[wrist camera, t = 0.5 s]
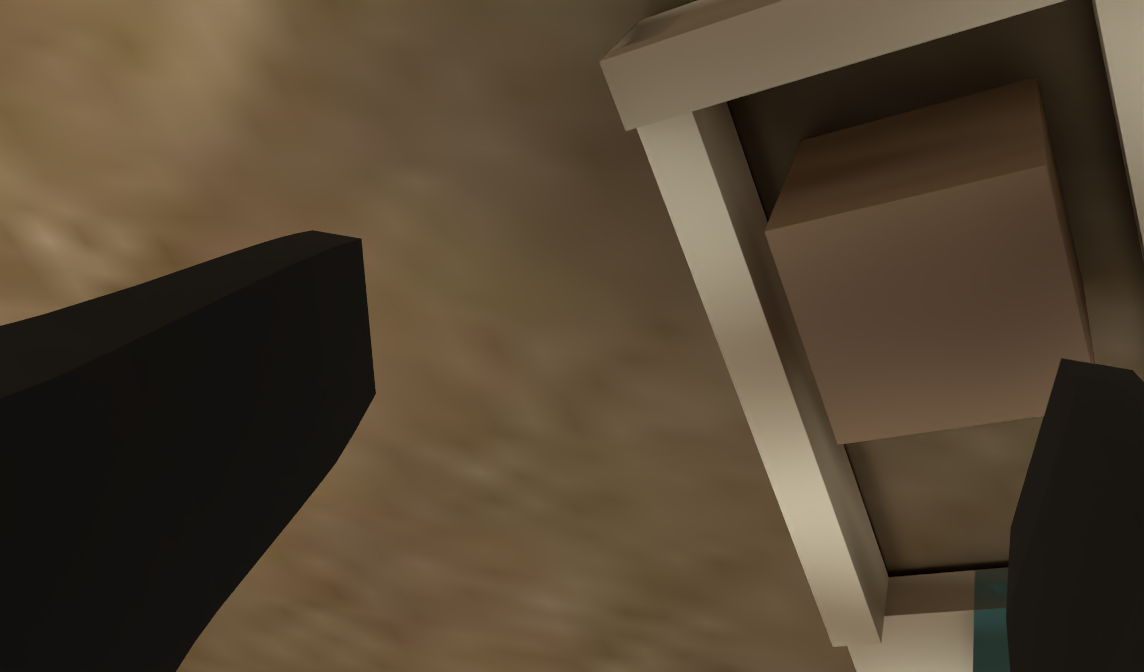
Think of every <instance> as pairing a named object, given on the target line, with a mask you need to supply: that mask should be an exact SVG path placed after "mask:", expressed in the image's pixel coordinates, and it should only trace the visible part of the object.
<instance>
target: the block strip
mask: <svg viewBox="0 0 1144 672" xmlns="http://www.w3.org/2000/svg"><path fill="white" fill-rule="evenodd" d="M1062 1H1065V0H697V1H694V2H691V3H688V4H686V5H683V6H680V7H677V8H674V9H671V10H668V11H665V12H662V13H660V14H657V15H654V16H651V17H648V18H645V19H642V20H640V21H639V22H638V23H637V24H636V25H635V26H634V27H633V28H632V29H631V30H630V31H629V32H628V33H627V34H626V35H625V36H624V37H623V38H622V39H621V40H620V41H619V42H618V43H617V44H616V45H615V46H614V47H613V48H612V49H611V50H610V51H609V52H608V53H607V54H606V55H605V56H604V57H603V58H602V59H601V60H600V61H599V63H600V66H601V68H602V71H603V73H604V76H605V79H606V81H607V84H608V86H609V89H610V92H611V94H612V97H613V99H614V102H615V105H616V107H617V110H618V112H619V115H620V118H621V120H622V123H623V126H624V128H625V131H628V130H632V129H635V128H637V131H638V133H639V136H640V139H641V141H642V144H643V146H644V149H645V152H646V154H647V157H648V160H649V162H650V165H651V168H652V170H653V173H654V175H655V178H656V181H657V183H658V186H659V189H660V191H661V194H662V197H663V199H664V202H665V205H666V207H667V210H668V212H669V215H670V218H671V220H672V223H673V226H674V228H675V231H676V234H677V236H678V239H679V242H680V244H681V247H682V249H683V252H684V255H685V257H686V260H687V263H688V265H689V268H690V271H691V273H692V276H693V278H694V281H695V284H696V286H697V289H698V292H699V294H700V297H701V300H702V302H703V305H704V308H705V310H706V313H707V315H708V318H709V321H710V323H711V326H712V329H713V331H714V334H715V337H716V339H717V342H718V345H719V347H720V350H721V352H722V355H723V358H724V360H725V363H726V366H727V368H728V371H729V374H730V376H731V379H732V382H733V384H734V387H735V389H736V392H737V395H738V397H739V400H740V403H741V405H742V408H743V411H744V413H745V416H746V418H747V421H748V424H749V426H750V429H751V432H752V434H753V437H754V440H755V442H756V445H757V448H758V450H759V453H760V455H761V458H762V461H763V463H764V466H765V469H766V471H767V474H768V477H769V479H770V482H771V485H772V487H773V490H774V492H775V495H776V498H777V500H778V503H779V506H780V508H781V511H782V514H783V516H784V519H785V521H786V524H787V527H788V529H789V532H790V535H791V537H792V540H793V543H794V545H795V548H796V551H797V553H798V556H799V558H800V561H801V564H802V566H803V569H804V572H805V574H806V577H807V580H808V582H809V585H810V588H811V590H812V593H813V595H814V598H815V601H816V603H817V606H818V609H819V611H820V614H821V617H822V619H823V622H824V625H825V627H826V630H827V632H828V635H829V638H830V640H831V643H832V646H833V647H837V646H847V647H848V650H849V652H850V655H851V658H852V660H853V663H854V666H855V668H856V671H857V672H1010V663H1009V651H1008V639H1007V625H1006V605H1007V584H1008V567H1007V568H995V569H983V570H971V571H959V572H947V573H935V574H923V575H911V576H899V577H888V574H887V571H886V568H885V565H884V562H883V559H882V556H881V553H880V550H879V547H878V544H877V542H876V539H875V536H874V533H873V530H872V527H871V524H870V521H869V518H868V515H867V512H866V509H865V506H864V503H863V501H862V498H861V495H860V492H859V489H858V486H857V483H856V480H855V477H854V474H853V471H852V468H851V465H850V462H849V460H848V457H847V454H846V451H845V448H844V445H843V444H840V445H838V444H837V441H836V438H835V435H834V433H833V430H832V427H831V424H830V421H829V418H828V415H827V412H826V409H825V406H824V403H823V401H822V398H821V395H820V392H819V389H818V386H817V383H816V380H815V377H814V374H813V371H812V369H811V366H810V363H809V360H808V357H807V354H806V351H805V348H804V345H803V342H802V340H801V337H800V334H799V331H798V328H797V325H796V322H795V319H794V316H793V313H792V310H791V308H790V305H789V302H788V299H787V296H786V293H785V290H784V287H783V284H782V281H781V279H780V276H779V273H778V270H777V267H776V264H775V261H774V258H773V255H772V252H771V249H770V247H769V244H768V241H767V238H766V235H765V232H764V231H765V229H766V226H767V224H768V222H767V219H766V217H765V214H764V211H763V208H762V205H761V202H760V199H759V196H758V193H757V190H756V187H755V184H754V181H753V178H752V176H751V173H750V170H749V167H748V164H747V161H746V158H745V155H744V152H743V149H742V146H741V143H740V140H739V137H738V135H737V132H736V129H735V126H734V123H733V120H732V117H731V114H730V111H729V108H728V105H727V102H726V101H729V100H733V99H736V98H739V97H743V96H746V95H749V94H753V93H756V92H759V91H763V90H766V89H769V88H773V87H776V86H780V85H783V84H786V83H790V82H793V81H796V80H800V79H803V78H806V77H810V76H813V75H817V74H820V73H823V72H827V71H830V70H833V69H837V68H840V67H843V66H847V65H850V64H854V63H857V62H860V61H864V60H867V59H870V58H874V57H877V56H880V55H884V54H887V53H890V52H894V51H897V50H901V49H904V48H907V47H911V46H914V45H917V44H921V43H924V42H927V41H931V40H934V39H938V38H941V37H944V36H948V35H951V34H954V33H958V32H961V31H964V30H968V29H971V28H975V27H978V26H981V25H985V24H988V23H991V22H995V21H998V20H1001V19H1005V18H1008V17H1012V16H1015V15H1018V14H1022V13H1025V12H1028V11H1032V10H1035V9H1038V8H1042V7H1045V6H1048V5H1052V4H1055V3H1059V2H1062ZM1092 5H1093V10H1094V15H1095V20H1096V25H1097V30H1098V35H1099V40H1100V45H1101V50H1102V55H1103V61H1104V66H1105V71H1106V76H1107V81H1108V86H1109V91H1110V96H1111V101H1112V106H1113V111H1114V116H1115V121H1116V126H1117V131H1118V136H1119V141H1120V146H1121V151H1122V156H1123V161H1124V166H1125V171H1126V177H1127V182H1128V187H1129V192H1130V197H1131V202H1132V207H1133V212H1134V217H1135V222H1136V227H1137V232H1138V237H1139V242H1140V247H1141V252H1142V257H1143V262H1144V0H1092Z"/></svg>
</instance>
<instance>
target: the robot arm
mask: <svg viewBox="0 0 1144 672" xmlns="http://www.w3.org/2000/svg"><path fill="white" fill-rule="evenodd" d="M375 394H376V391H375V380H374V370H373V359H372V348H371V337H370V327H369V316H368V305H367V294H366V284H365V273H364V262H363V251H362V241H361V239H360V238H354V237H348V236H342V235H336V234H331V233H325V232H319V231H313V230H312V231H307V232H302V233H297V234H292V235H288V236H284V237H281V238H277V239H274V240H270V241H267V242H264V243H260V244H257V245H254V246H251V247H248V248H245V249H242V250H239V251H236V252H233V253H230V254H227V255H224V256H221V257H218V258H215V259H212V260H209V261H206V262H204V263H201V264H198V265H195V266H192V267H189V268H186V269H183V270H180V271H177V272H175V273H172V274H169V275H166V276H163V277H160V278H157V279H154V280H151V281H148V282H145V283H142V284H139V285H137V286H133V287H130V288H127V289H124V290H121V291H117V292H114V293H111V294H108V295H104V296H101V297H98V298H95V299H92V300H88V301H85V302H82V303H79V304H76V305H72V306H69V307H66V308H63V309H60V310H56V311H53V312H50V313H47V314H43V315H40V316H36V317H32V318H29V319H25V320H21V321H18V322H14V323H10V324H6V325H2V326H0V672H176V670H177V669H178V667H179V666H180V664H181V663H182V661H183V659H184V658H185V656H186V655H187V653H188V652H189V650H190V649H191V647H192V645H193V644H194V642H195V641H196V640H197V638H198V637H199V635H200V634H201V633H202V631H203V630H204V629H205V627H206V626H207V625H208V623H209V622H210V621H211V619H212V618H213V616H214V615H215V614H216V612H217V611H218V610H219V608H220V607H221V606H222V605H223V603H224V602H225V601H226V600H227V598H228V597H229V596H230V595H231V593H232V592H233V591H234V590H235V589H236V587H237V586H238V585H239V584H240V582H241V581H242V580H243V579H244V577H245V576H246V575H247V574H248V572H249V571H250V570H251V569H252V568H253V566H254V565H255V564H256V563H257V561H258V560H259V559H260V558H261V556H262V555H263V554H264V553H265V551H266V550H267V549H268V548H269V547H270V545H271V544H272V543H273V542H274V540H275V539H276V538H277V537H278V535H279V534H280V533H281V532H282V531H283V529H284V528H285V527H286V526H287V524H288V523H289V522H290V521H291V519H292V518H293V517H294V516H295V515H296V513H297V512H298V511H299V509H300V508H301V507H302V506H303V504H304V503H305V502H306V501H307V499H308V498H309V497H310V496H311V494H312V493H313V492H314V490H315V489H316V488H317V487H318V485H319V484H320V483H321V482H322V480H323V479H324V478H325V476H326V475H327V474H328V473H329V471H330V470H331V469H332V467H333V466H334V465H335V463H336V462H337V460H338V459H339V457H340V455H341V454H342V452H343V450H344V449H345V447H346V445H347V444H348V442H349V440H350V439H351V437H352V436H353V434H354V432H355V430H356V429H357V427H358V425H359V423H360V421H361V420H362V418H363V416H364V414H365V412H366V410H367V409H368V407H369V405H370V403H371V401H372V400H373V398H374V396H375ZM1006 625H1007V639H1008V651H1009V663H1010V672H1144V382H1143V381H1142V380H1141V379H1140V378H1139V377H1138V375H1137V374H1136V373H1135V372H1134V371H1133V370H1128V369H1122V368H1116V367H1111V366H1105V365H1099V364H1093V363H1087V362H1081V361H1075V360H1069V359H1064V358H1061V361H1060V364H1059V367H1058V371H1057V374H1056V377H1055V381H1054V384H1053V388H1052V391H1051V394H1050V398H1049V401H1048V404H1047V408H1046V411H1045V414H1044V418H1043V421H1042V424H1041V428H1040V431H1039V435H1038V438H1037V441H1036V445H1035V448H1034V451H1033V455H1032V458H1031V461H1030V465H1029V468H1028V471H1027V475H1026V478H1025V482H1024V485H1023V488H1022V492H1021V495H1020V498H1019V502H1018V505H1017V508H1016V512H1015V515H1014V518H1013V522H1012V525H1011V534H1010V550H1009V566H1008V584H1007V605H1006Z"/></svg>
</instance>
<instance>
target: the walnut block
mask: <svg viewBox="0 0 1144 672" xmlns="http://www.w3.org/2000/svg"><path fill="white" fill-rule="evenodd" d="M764 232H765V235H766V238H767V241H768V244H769V247H770V249H771V252H772V255H773V258H774V261H775V264H776V267H777V270H778V273H779V276H780V279H781V281H782V284H783V287H784V290H785V293H786V296H787V299H788V302H789V305H790V308H791V310H792V313H793V316H794V319H795V322H796V325H797V328H798V331H799V334H800V337H801V340H802V342H803V345H804V348H805V351H806V354H807V357H808V360H809V363H810V366H811V369H812V371H813V374H814V377H815V380H816V383H817V386H818V389H819V392H820V395H821V398H822V401H823V403H824V406H825V409H826V412H827V415H828V418H829V421H830V424H831V427H832V430H833V433H834V435H835V438H836V441H837V444H838V445H840V444H848V443H855V442H862V441H869V440H876V439H883V438H890V437H898V436H905V435H912V434H919V433H926V432H933V431H940V430H948V429H955V428H962V427H969V426H976V425H983V424H990V423H998V422H1005V421H1012V420H1019V419H1026V418H1033V417H1040V416H1044V414H1045V411H1046V408H1047V404H1048V401H1049V398H1050V394H1051V391H1052V388H1053V384H1054V381H1055V377H1056V374H1057V371H1058V367H1059V364H1060V361H1061V358H1064V359H1069V360H1075V361H1081V362H1087V363H1093V364H1095V362H1094V356H1093V349H1092V342H1091V335H1090V328H1089V321H1088V314H1087V307H1086V301H1085V294H1084V287H1083V282H1082V278H1081V274H1080V269H1079V265H1078V260H1077V256H1076V251H1075V247H1074V242H1073V238H1072V233H1071V229H1070V224H1069V220H1068V216H1067V211H1066V207H1065V202H1064V198H1063V193H1062V189H1061V184H1060V180H1059V175H1058V171H1057V167H1056V162H1055V158H1054V153H1053V149H1052V144H1051V140H1050V135H1049V131H1048V126H1047V122H1046V117H1045V113H1044V109H1043V104H1042V100H1041V95H1040V91H1039V86H1038V82H1037V77H1034V78H1030V79H1027V80H1023V81H1019V82H1016V83H1012V84H1008V85H1005V86H1001V87H997V88H994V89H990V90H986V91H983V92H979V93H975V94H971V95H968V96H964V97H960V98H957V99H953V100H949V101H946V102H942V103H938V104H935V105H931V106H927V107H924V108H920V109H916V110H913V111H909V112H905V113H902V114H898V115H894V116H890V117H887V118H883V119H879V120H876V121H872V122H868V123H865V124H861V125H857V126H854V127H850V128H846V129H843V130H839V131H835V132H832V133H828V134H824V135H820V136H817V137H813V138H809V139H806V140H802V141H801V142H800V144H799V147H798V149H797V152H796V154H795V157H794V159H793V162H792V164H791V167H790V169H789V172H788V174H787V177H786V179H785V182H784V184H783V187H782V189H781V192H780V194H779V197H778V199H777V201H776V204H775V206H774V209H773V211H772V214H771V216H770V219H769V221H768V224H767V226H766V229H765V231H764Z"/></svg>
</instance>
